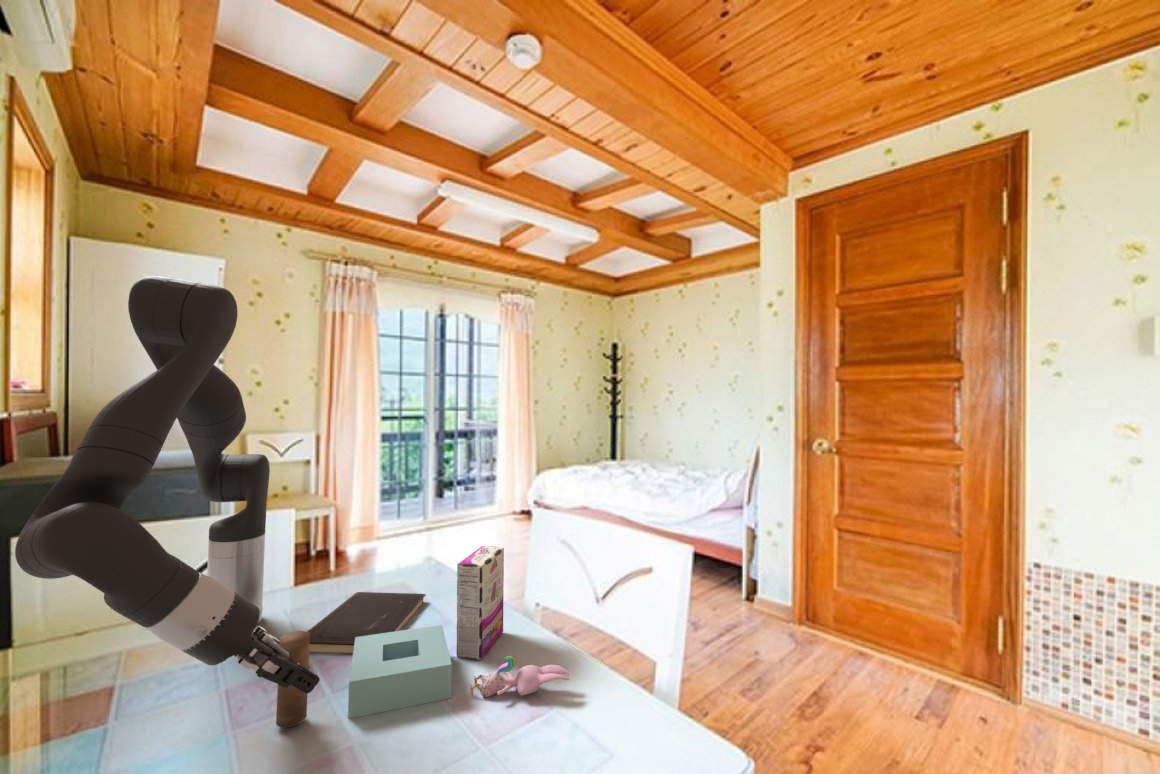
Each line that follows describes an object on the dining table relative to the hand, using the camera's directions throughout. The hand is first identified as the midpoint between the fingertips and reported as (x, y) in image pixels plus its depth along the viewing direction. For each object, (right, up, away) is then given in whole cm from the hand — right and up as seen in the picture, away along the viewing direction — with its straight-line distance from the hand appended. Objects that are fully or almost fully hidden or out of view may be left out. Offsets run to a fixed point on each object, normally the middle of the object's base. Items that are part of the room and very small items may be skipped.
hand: (308, 679), depth 69 cm
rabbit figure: (+29, -6, +7) cm, 30 cm away
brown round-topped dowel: (-1, -4, -2) cm, 5 cm away
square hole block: (+10, -6, +9) cm, 14 cm away
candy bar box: (+20, -7, +22) cm, 30 cm away
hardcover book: (-5, -7, +29) cm, 30 cm away
